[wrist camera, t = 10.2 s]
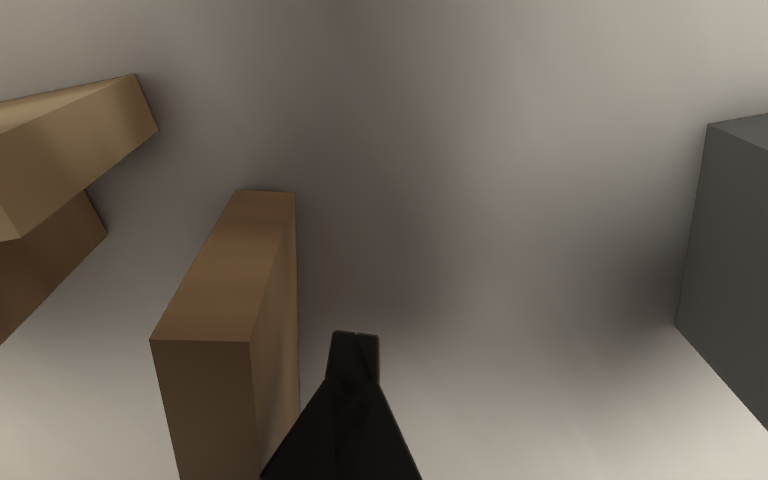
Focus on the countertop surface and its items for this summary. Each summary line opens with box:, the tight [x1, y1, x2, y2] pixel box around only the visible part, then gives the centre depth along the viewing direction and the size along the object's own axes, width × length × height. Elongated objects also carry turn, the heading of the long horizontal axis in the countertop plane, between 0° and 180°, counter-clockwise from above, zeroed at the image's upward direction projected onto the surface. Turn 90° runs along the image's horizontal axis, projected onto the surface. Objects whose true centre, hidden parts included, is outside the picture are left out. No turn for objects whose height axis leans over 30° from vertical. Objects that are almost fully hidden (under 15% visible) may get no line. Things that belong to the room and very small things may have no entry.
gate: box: [149, 190, 300, 480], centre depth 10 cm, size 10×1×4 cm, turn 176°
